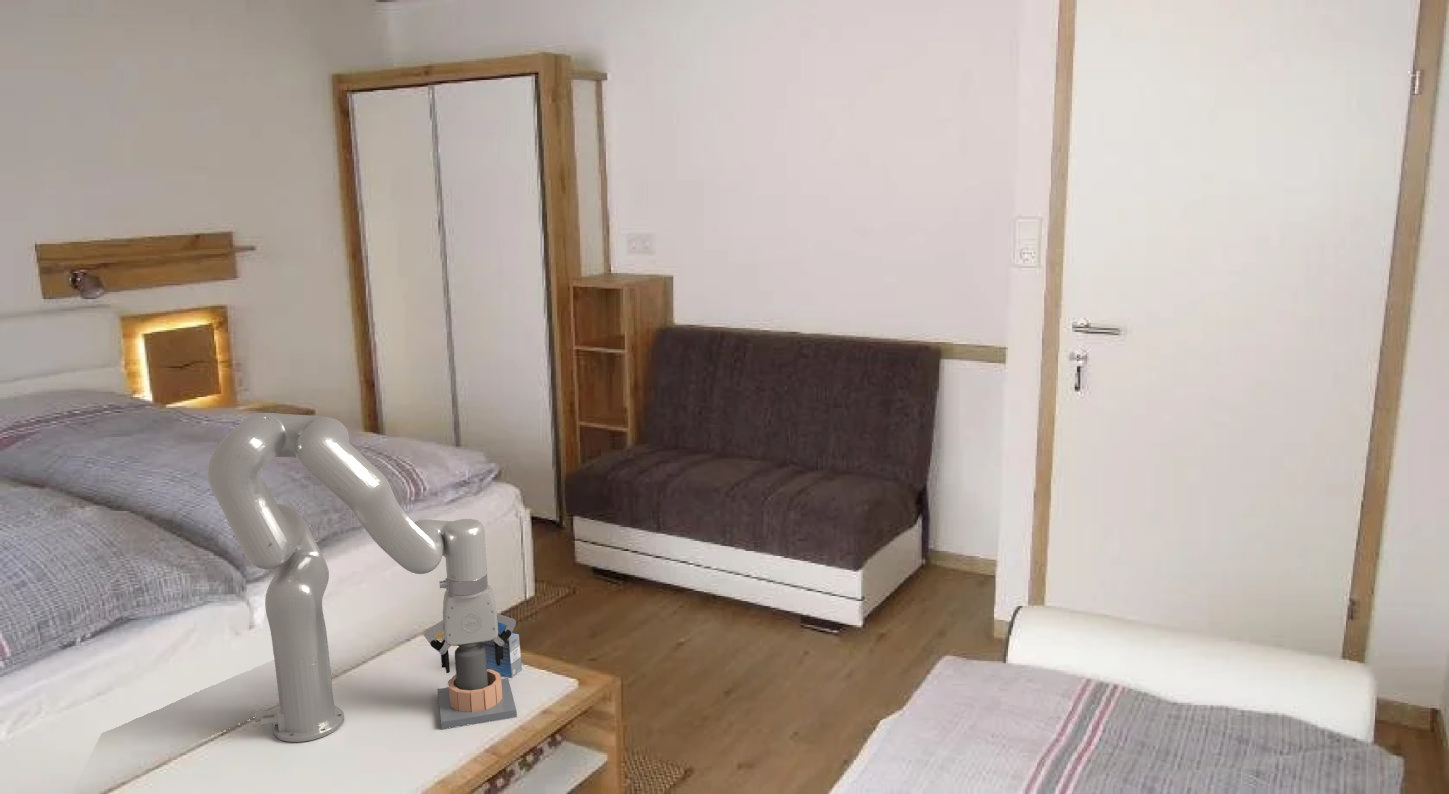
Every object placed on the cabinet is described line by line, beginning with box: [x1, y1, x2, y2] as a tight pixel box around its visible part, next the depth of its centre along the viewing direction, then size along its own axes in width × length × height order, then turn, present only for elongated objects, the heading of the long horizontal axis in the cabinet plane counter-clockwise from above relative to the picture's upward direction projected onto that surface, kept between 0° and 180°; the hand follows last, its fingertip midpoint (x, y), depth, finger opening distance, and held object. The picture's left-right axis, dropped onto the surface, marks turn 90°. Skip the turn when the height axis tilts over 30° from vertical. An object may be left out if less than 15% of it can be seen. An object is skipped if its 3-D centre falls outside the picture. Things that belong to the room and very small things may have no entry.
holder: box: [437, 669, 518, 730], centre depth 206 cm, size 14×14×6 cm
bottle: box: [454, 642, 488, 690], centre depth 205 cm, size 6×6×15 cm
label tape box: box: [480, 622, 523, 678], centre depth 220 cm, size 9×4×12 cm, turn 65°
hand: (473, 666), depth 205 cm, fingers open, 9 cm apart
